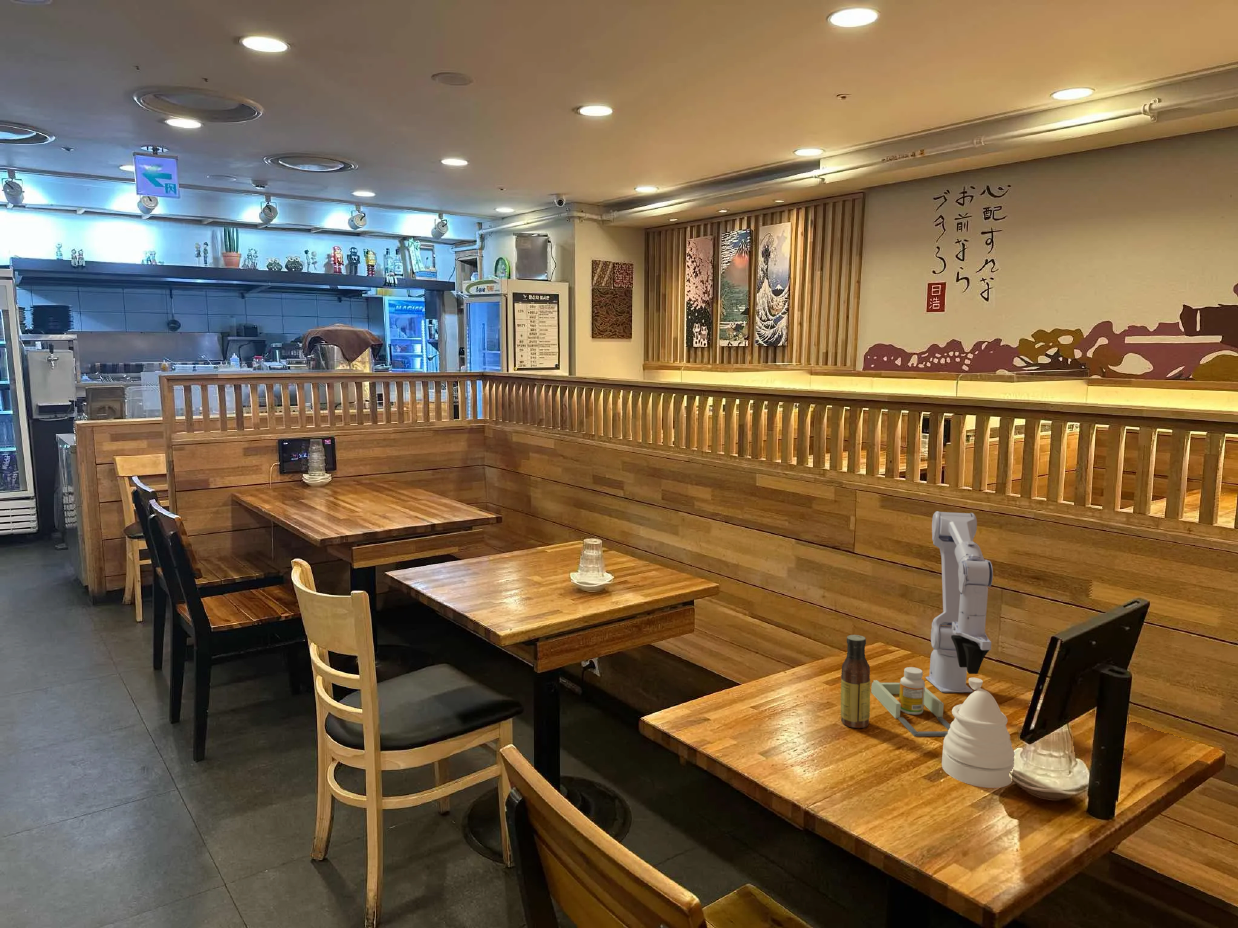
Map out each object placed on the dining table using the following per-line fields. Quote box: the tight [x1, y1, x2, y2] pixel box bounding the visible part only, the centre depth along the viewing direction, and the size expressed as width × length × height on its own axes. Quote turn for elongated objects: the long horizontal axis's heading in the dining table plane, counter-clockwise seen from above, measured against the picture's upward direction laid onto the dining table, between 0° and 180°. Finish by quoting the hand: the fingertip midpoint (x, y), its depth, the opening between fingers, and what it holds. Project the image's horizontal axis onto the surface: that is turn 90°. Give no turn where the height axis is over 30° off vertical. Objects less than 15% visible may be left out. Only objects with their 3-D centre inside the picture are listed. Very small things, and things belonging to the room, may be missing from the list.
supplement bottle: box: [898, 666, 926, 716], centre depth 189 cm, size 5×5×10 cm
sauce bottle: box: [840, 634, 871, 729], centre depth 180 cm, size 7×6×20 cm
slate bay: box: [897, 716, 951, 737], centre depth 180 cm, size 8×10×1 cm
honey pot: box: [941, 677, 1015, 789], centre depth 160 cm, size 13×13×18 cm
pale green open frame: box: [870, 679, 944, 720], centre depth 192 cm, size 15×11×4 cm
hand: (968, 670), depth 187 cm, fingers open, 3 cm apart
